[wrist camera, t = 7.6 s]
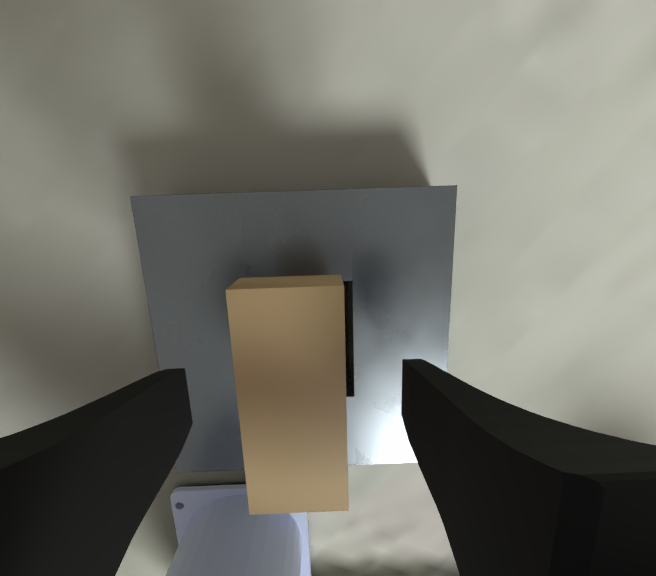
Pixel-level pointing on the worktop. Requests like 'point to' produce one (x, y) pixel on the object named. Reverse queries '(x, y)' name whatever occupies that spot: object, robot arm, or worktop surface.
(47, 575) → the robot arm
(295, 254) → the flat gray square plate
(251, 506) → the tall cardboard box
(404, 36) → the worktop surface
